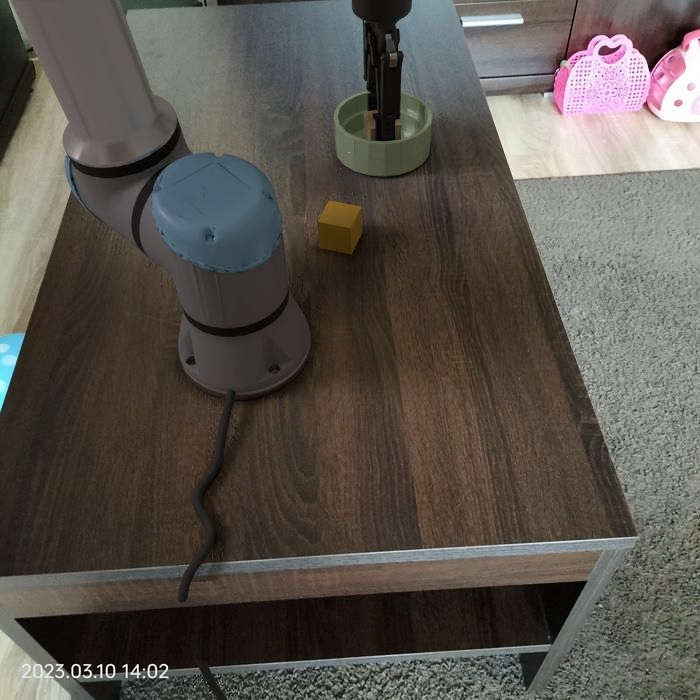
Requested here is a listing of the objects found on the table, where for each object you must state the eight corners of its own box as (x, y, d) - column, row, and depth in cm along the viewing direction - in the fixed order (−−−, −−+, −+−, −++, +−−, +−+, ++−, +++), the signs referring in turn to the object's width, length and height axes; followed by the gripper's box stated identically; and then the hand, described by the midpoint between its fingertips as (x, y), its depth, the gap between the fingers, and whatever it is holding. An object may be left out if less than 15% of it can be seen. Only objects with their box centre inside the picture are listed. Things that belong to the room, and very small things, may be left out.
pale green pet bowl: (425, 182, 104) (427, 146, 100) (328, 175, 106) (326, 139, 102) (433, 127, 114) (435, 91, 109) (343, 121, 115) (342, 86, 111)
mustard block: (351, 254, 95) (350, 228, 92) (319, 248, 96) (317, 221, 93) (362, 233, 98) (361, 206, 94) (330, 226, 99) (329, 200, 95)
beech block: (400, 151, 105) (401, 124, 102) (370, 156, 105) (370, 129, 101) (393, 134, 108) (394, 107, 105) (364, 138, 108) (363, 111, 104)
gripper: (430, 7, 83) (421, 175, 101) (395, -53, 94) (392, 108, 112) (366, 14, 82) (368, 183, 100) (338, -47, 94) (344, 115, 111)
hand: (381, 143), depth 106 cm, fingers closed on beech block, 4 cm apart
